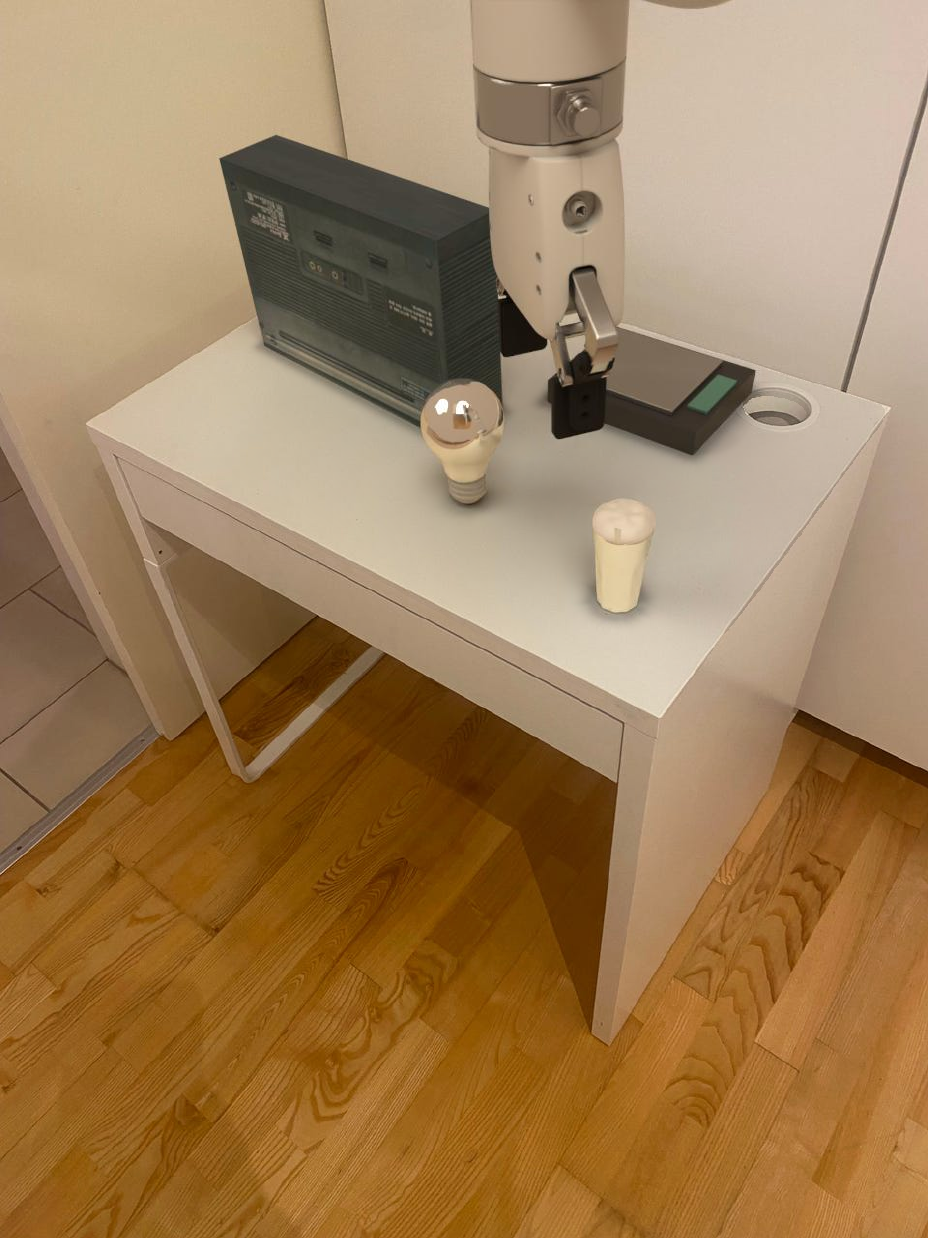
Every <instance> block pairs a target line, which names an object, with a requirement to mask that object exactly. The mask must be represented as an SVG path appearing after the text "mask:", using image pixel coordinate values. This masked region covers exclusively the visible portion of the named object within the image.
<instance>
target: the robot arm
mask: <svg viewBox="0 0 928 1238" xmlns="http://www.w3.org/2000/svg"><path fill="white" fill-rule="evenodd" d="M642 1H643V2H647V3H650V4H655V5H659V6H664V7H668V8H674V9H683V10H701V9H707V8H712V7H713V8H714V7H719V6H721V5H723V4H726V3H729V2H731V1H732V0H642ZM629 16H630V0H469V17H470V19H469V20H470V34H471V35H470V38H471V54H472V74H473V75H472V76H473V90H474V91H473V93H474V94H473V95H474V97H473V98H474V114H475V129H476V132H475V133H476V137H477V139H478V140H479V141H480V143H481V144H482V145H484V146H485V147H487V148H488V207H489V220H490V238H491V250H492V258H493V264H494V268H495V271H496V274H497V277H496V288H497V292H498V297H502V298H498V299H497V302H498V325H499V348H500V355H502V357H504V358H511V357H516V356H520V355H525V354H530V353H533V352H537V351H538V352H539V351H543V350H545V349H546V348H547V346H548V340H549V343H550V348H551V352H552V356H553V361H554V365H555V370H556V373H557V375H558V377H555V378H551V377H550V378H551V403H550V404H551V405H550V406H551V407H550V408H551V409H550V411H551V412H550V413H551V414H550V416H551V417H550V419H551V420H550V429H551V430H550V431H551V434H552V435H553V437H554V438H555V440H557V441H559V440H563V439H569V438H572V437H577V436H580V435H584V434H589V433H593V432H597V431H600V430H602V429H603V428H604V426H605V424H606V423H605V405H606V385H607V377H609V376H610V371H611V369H612V367H613V363H614V361H615V357H614V354H615V352H616V349H617V347H618V344H619V336H618V332H617V329H616V327H619V325H620V324H621V322H622V320H623V316H624V308H625V307H624V306H625V267H626V266H625V265H626V263H625V259H626V256H625V254H626V253H625V252H626V247H625V245H626V241H625V239H626V238H625V237H626V236H625V235H626V234H625V232H626V230H625V229H626V228H625V226H626V225H625V197H624V195H625V193H624V183H623V172H622V171H623V170H622V161H621V153H620V144H619V143H618V141H617V140H616V139H617V138H618V137H619V135H620V134H622V131H623V128H624V113H625V112H624V110H625V94H626V93H625V91H626V73H627V72H626V71H627V54H628V33H629ZM574 314H577V316H578V320H579V321H578V322H573V323H569V324H564V325H560V323H562V322H563V319H564V317H566V316H569V315H574ZM581 336H584V338H585V339H584V345H583V347H584V349H585V351H584V352H582V351H580V352H578V353H577V354H576V355H575V356H574V357H573V358H572V359H571V358H570V353H569V350H568V345H567V341H566V340H567V339H573V338H577V337H581Z"/></svg>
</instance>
